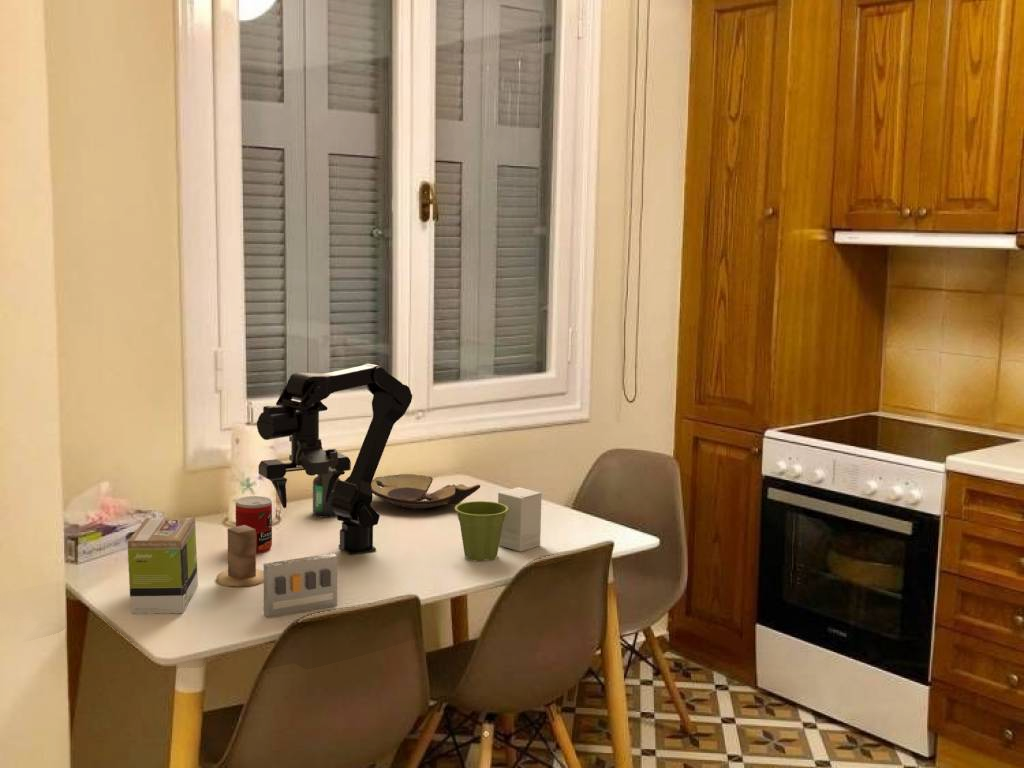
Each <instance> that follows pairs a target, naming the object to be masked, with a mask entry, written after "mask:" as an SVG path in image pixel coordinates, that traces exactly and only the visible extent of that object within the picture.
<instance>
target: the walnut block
mask: <svg viewBox="0 0 1024 768" xmlns="http://www.w3.org/2000/svg"><path fill="white" fill-rule="evenodd" d="M256 559H257V553H256V529H254V528H251V527H248V526H246V525H242V526H237V527H236V526H234V527H230V528H229V527H228V528H227V570H228V576H230V577H232V578H234V579H237V580H239V581H240V580H243V579H247V578H251V577H255V576H256V569H257V566H256V565H257V563H256V562H257V560H256Z"/></svg>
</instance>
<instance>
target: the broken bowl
mask: <svg viewBox="0 0 1024 768" xmlns="http://www.w3.org/2000/svg"><path fill="white" fill-rule="evenodd" d="M433 480H434V479H433V477H432V476H429V475H422V474H413V473H403V474H402V473H401V474H393V475H391V474H390V475H384V476H376V477H375V478H374V479H373V480H372V483H371V487H372V495H374V496H377V497H378V498H380V499H382V500H384V501H386V502H388V503H390V504H393V505H396V506H397V507H398V506H399V507H402V508H406V509H429V508H434V507H438V506H441V505H450V506H456V505H458V504H461V503H462V502H463V501H464V500H465V499H467V498H468V497H470V496H471V495H472V494H474V493H475V492H477V491H478V490H479V489H480V488H481V485H480V484H475V485H472V486H466V485H464V484H463V483H459V484H457V485H456V484H452V485H451V484H447V485H445V486H442V487H441V488H440V489H437V490H435V491H433V492H431V493H430V494H427V493H428V491H429V490H430V487H431V485H432V483H433ZM426 494H427V495H426ZM423 498H424V499H425V500H422V499H423Z"/></svg>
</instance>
